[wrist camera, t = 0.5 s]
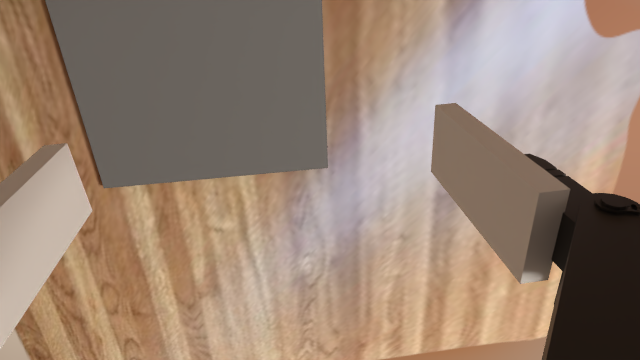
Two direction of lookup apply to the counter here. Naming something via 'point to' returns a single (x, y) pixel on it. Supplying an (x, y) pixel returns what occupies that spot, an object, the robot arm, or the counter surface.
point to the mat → (196, 86)
